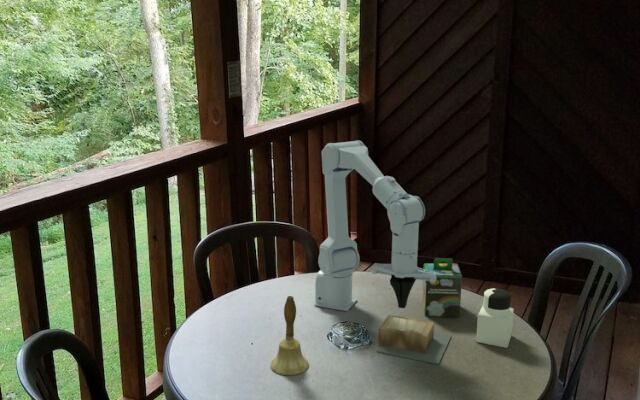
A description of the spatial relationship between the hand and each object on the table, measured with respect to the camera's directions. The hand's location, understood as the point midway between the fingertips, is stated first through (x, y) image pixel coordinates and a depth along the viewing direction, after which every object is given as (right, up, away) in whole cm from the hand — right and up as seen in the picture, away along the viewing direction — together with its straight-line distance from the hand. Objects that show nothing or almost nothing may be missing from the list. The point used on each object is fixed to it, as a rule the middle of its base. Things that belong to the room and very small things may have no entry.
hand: (402, 306), depth 135 cm
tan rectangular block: (-4, -6, +3) cm, 8 cm away
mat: (+3, -9, +1) cm, 9 cm away
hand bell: (-25, -11, -8) cm, 29 cm away
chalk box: (+13, -5, +19) cm, 23 cm away
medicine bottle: (+22, -8, +4) cm, 24 cm away
